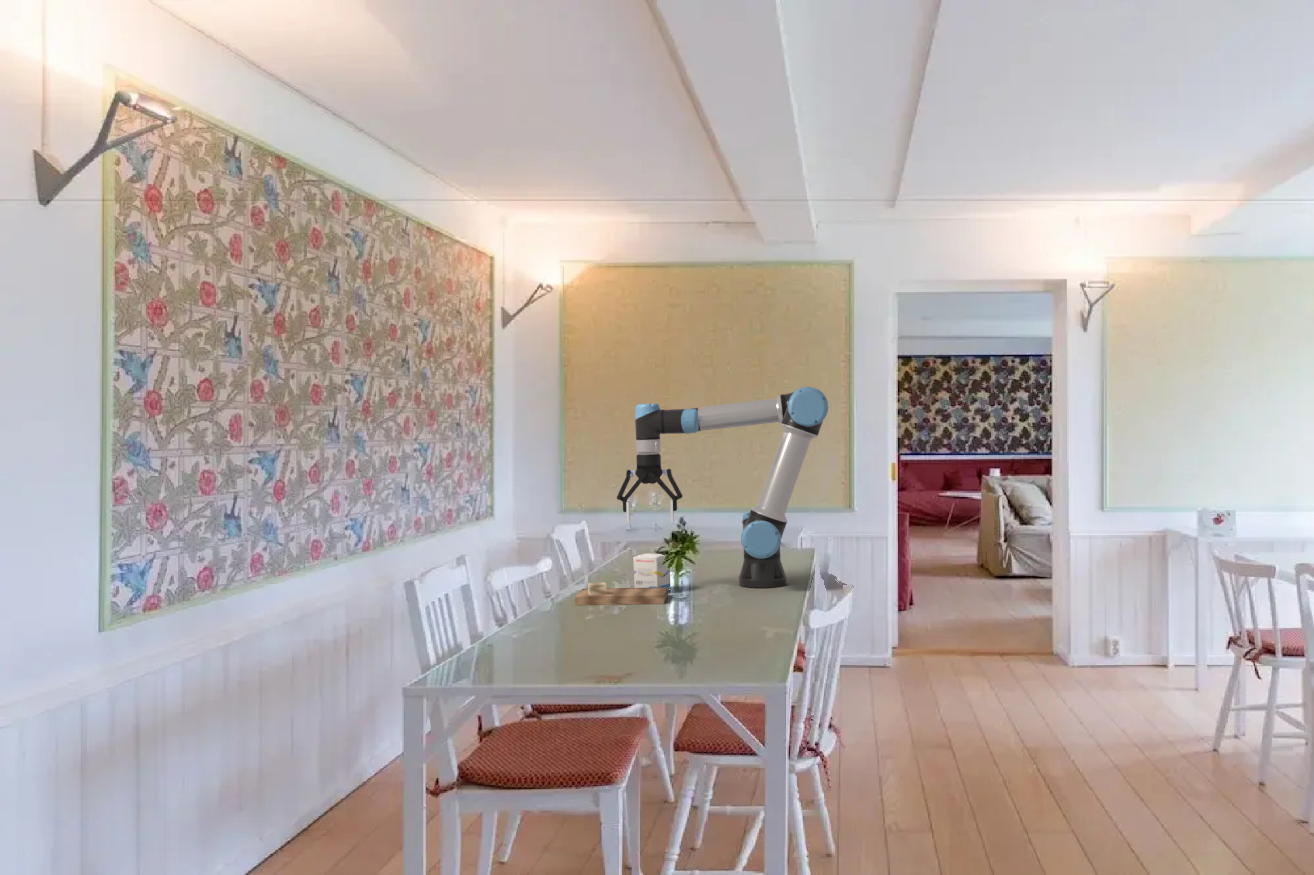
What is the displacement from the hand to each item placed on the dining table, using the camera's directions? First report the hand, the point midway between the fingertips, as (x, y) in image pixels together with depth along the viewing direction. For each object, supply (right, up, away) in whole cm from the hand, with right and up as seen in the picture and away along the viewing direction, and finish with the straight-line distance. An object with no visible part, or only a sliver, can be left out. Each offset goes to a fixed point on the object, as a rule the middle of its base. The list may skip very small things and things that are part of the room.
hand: (650, 522), depth 314 cm
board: (-8, -22, -11) cm, 26 cm away
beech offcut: (-16, -20, -13) cm, 29 cm away
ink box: (+1, -22, +1) cm, 22 cm away
